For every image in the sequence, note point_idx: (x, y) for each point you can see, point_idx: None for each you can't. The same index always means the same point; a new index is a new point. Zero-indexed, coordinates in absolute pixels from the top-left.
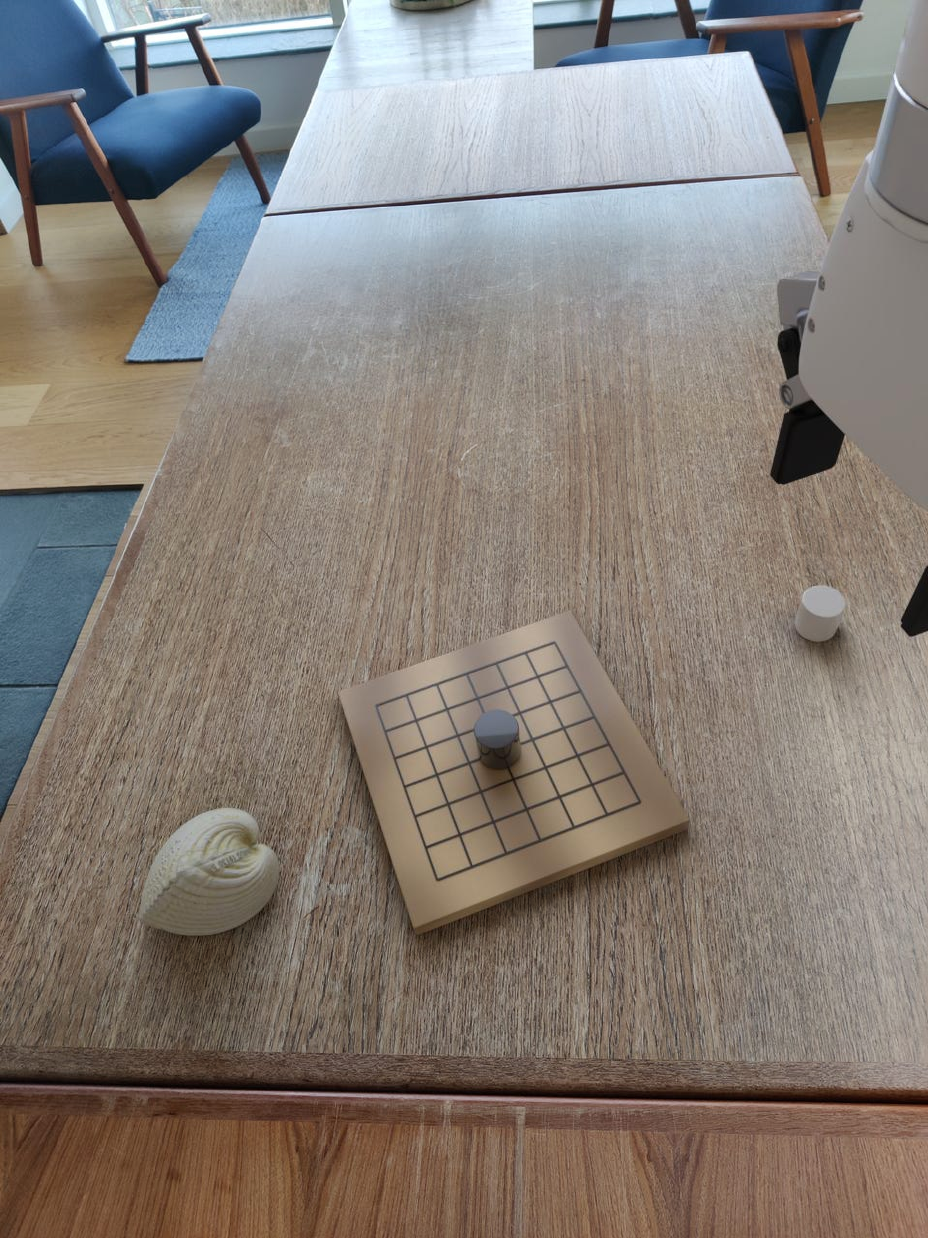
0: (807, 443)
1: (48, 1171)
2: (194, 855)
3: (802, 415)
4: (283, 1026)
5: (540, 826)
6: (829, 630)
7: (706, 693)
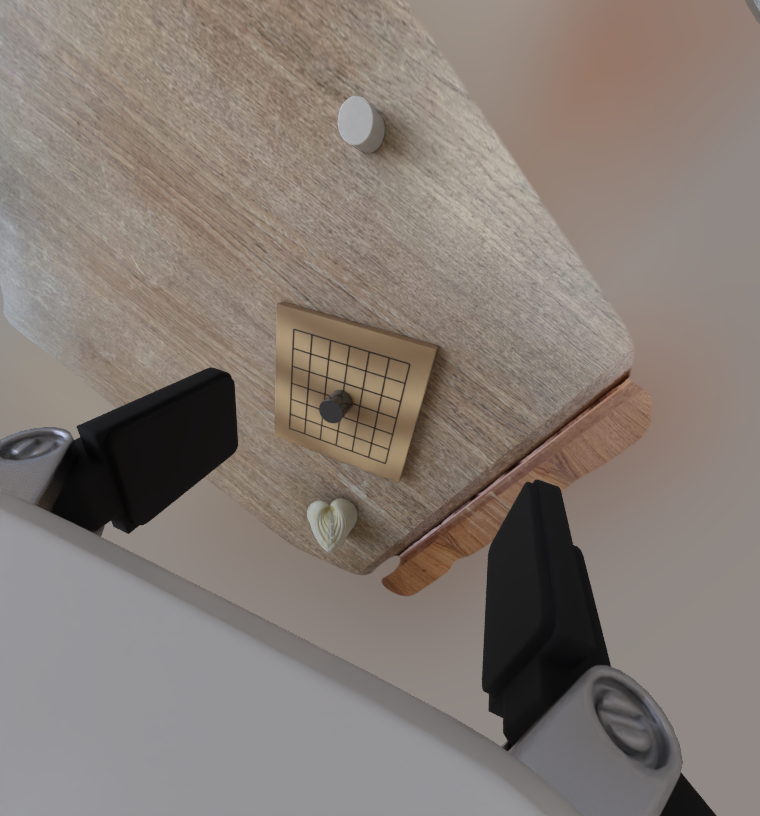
0: (181, 466)
1: (399, 587)
2: (324, 544)
3: (122, 516)
4: (402, 526)
5: (390, 413)
6: (379, 131)
7: (371, 263)
